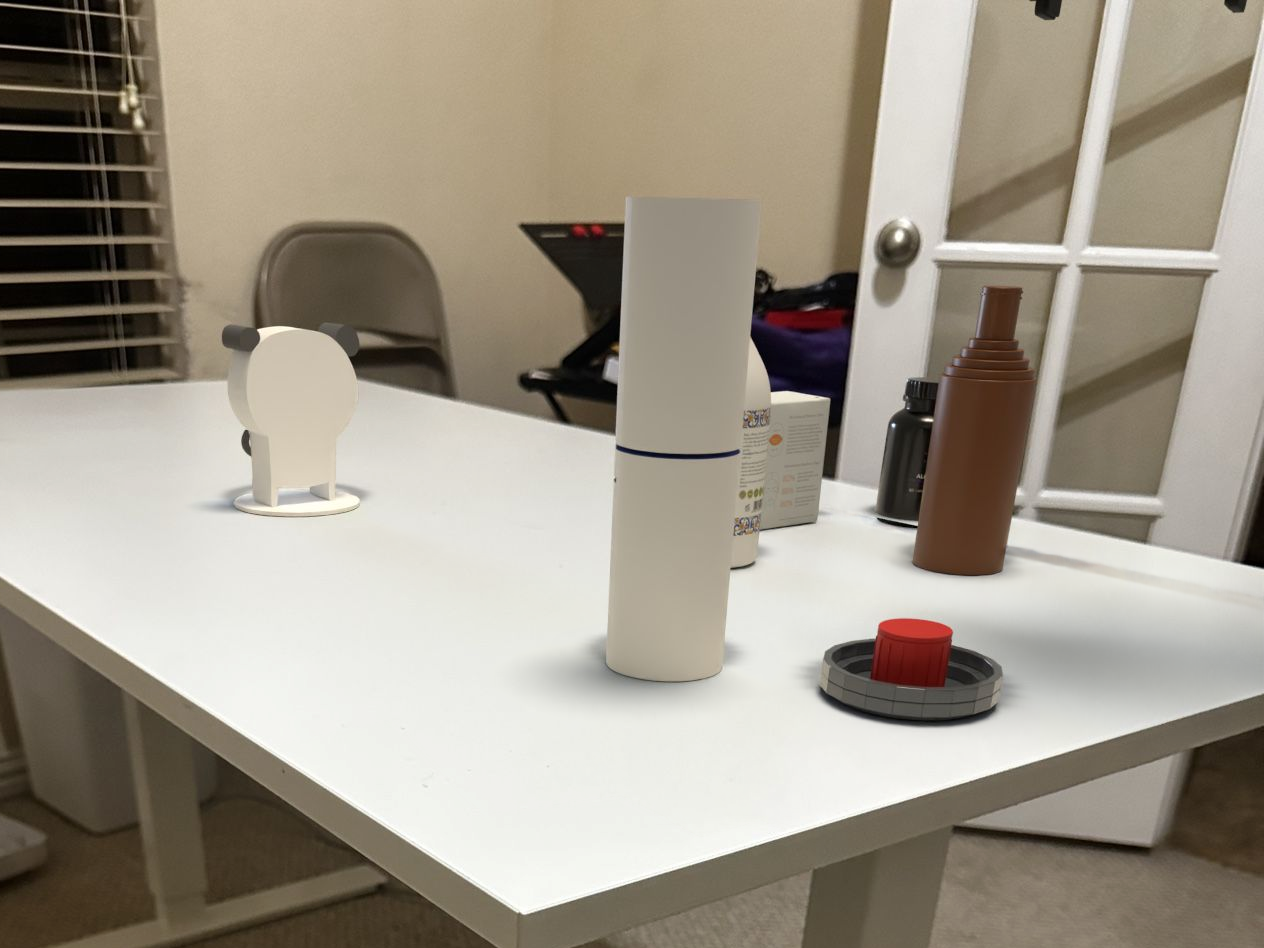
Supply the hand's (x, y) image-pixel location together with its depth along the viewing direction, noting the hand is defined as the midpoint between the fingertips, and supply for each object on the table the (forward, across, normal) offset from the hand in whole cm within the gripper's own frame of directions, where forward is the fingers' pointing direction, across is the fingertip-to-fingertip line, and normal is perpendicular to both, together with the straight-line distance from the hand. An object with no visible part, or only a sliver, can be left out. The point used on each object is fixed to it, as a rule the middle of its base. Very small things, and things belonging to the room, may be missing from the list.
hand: (1137, 13), depth 74 cm
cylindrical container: (+34, -17, -18) cm, 43 cm away
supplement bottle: (+34, -17, +34) cm, 51 cm away
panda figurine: (+34, -67, +9) cm, 76 cm away
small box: (+34, -29, +26) cm, 52 cm away
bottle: (+34, -9, +20) cm, 40 cm away
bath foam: (+34, -26, +10) cm, 44 cm away
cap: (+34, -3, -16) cm, 38 cm away
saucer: (+34, -3, -16) cm, 38 cm away
